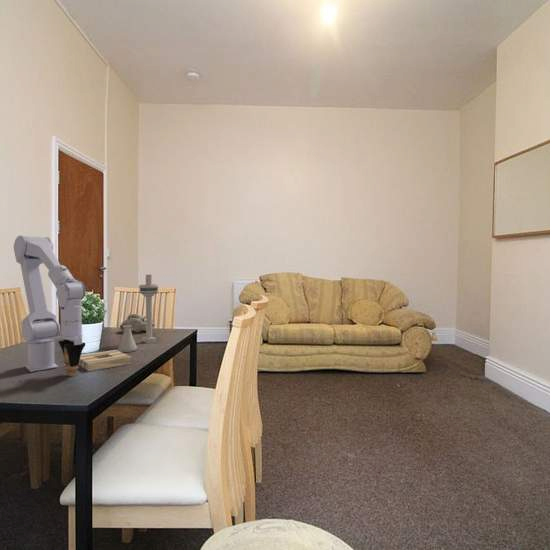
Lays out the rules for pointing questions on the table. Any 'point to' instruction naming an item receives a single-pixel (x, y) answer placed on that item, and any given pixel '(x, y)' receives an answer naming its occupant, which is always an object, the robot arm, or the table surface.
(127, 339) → the flask
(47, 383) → the table surface
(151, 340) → the model tower
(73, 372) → the oak peg
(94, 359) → the birch board
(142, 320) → the mineral
